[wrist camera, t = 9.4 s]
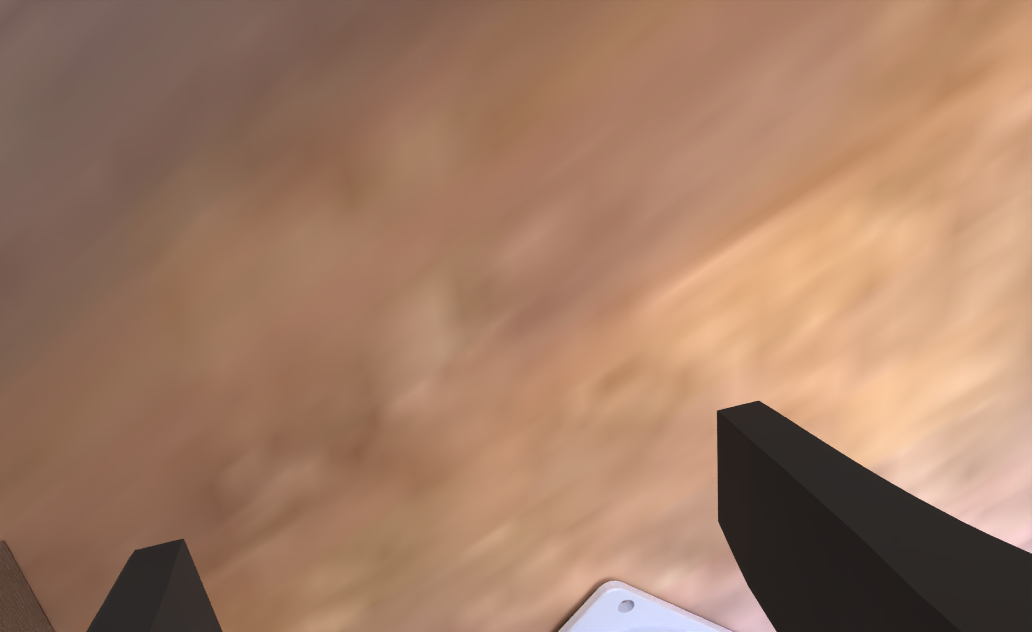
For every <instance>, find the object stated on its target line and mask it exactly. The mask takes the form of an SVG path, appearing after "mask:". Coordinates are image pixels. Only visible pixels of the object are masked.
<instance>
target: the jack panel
mask: <svg viewBox="0 0 1032 632" xmlns="http://www.w3.org/2000/svg"><path fill="white" fill-rule="evenodd" d="M0 632H54V631H53V629H52V627H51V625H50V623H49V622H48V620H47V618H46V616H45V614H44V613H43V611H42V609H41V607H40V605H39V603H38V602H37V600H36V598H35V596H34V594H33V593H32V591H31V589H30V587H29V585H28V584H27V582H26V580H25V578H24V576H23V574H22V573H21V571H20V569H19V567H18V565H17V564H16V562H15V560H14V558H13V556H12V555H11V553H10V551H9V549H8V547H7V545H6V544H5V542H4V541H2V542H0Z"/></svg>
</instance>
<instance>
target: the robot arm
mask: <svg viewBox="0 0 1032 632" xmlns="http://www.w3.org/2000/svg"><path fill="white" fill-rule="evenodd" d="M717 454H718V522H719V524H720V526H721V529H722V531H723V533H724V535H725V537H726V540H727V542H728V544H729V546H730V549H731V551H732V553H733V555H734V557H735V559H736V562H737V564H738V566H739V568H740V570H741V572H742V574H743V576H744V578H745V580H746V582H747V584H748V586H749V588H750V589H751V591H752V593H753V594H754V596H755V598H756V599H757V601H758V603H759V604H760V606H761V607H762V609H763V611H764V612H765V614H766V615H767V617H768V619H769V620H770V622H771V623H772V625H773V627H774V628H775V630H776V631H777V632H1032V554H1031V553H1029V552H1027V551H1025V550H1022V549H1020V548H1018V547H1016V546H1013V545H1011V544H1009V543H1007V542H1004V541H1002V540H1000V539H998V538H995V537H993V536H991V535H989V534H987V533H985V532H983V531H981V530H978V529H976V528H974V527H972V526H970V525H968V524H966V523H964V522H962V521H960V520H958V519H956V518H954V517H953V516H951V515H949V514H947V513H945V512H943V511H941V510H939V509H937V508H936V507H934V506H932V505H930V504H928V503H926V502H924V501H922V500H920V499H919V498H917V497H915V496H913V495H911V494H910V493H908V492H906V491H904V490H903V489H901V488H899V487H897V486H895V485H894V484H892V483H890V482H889V481H887V480H885V479H883V478H882V477H880V476H878V475H877V474H875V473H873V472H872V471H870V470H868V469H867V468H865V467H863V466H862V465H860V464H858V463H857V462H855V461H853V460H852V459H850V458H849V457H847V456H845V455H844V454H842V453H841V452H839V451H837V450H836V449H834V448H833V447H831V446H829V445H828V444H826V443H825V442H823V441H822V440H820V439H818V438H817V437H815V436H814V435H812V434H811V433H809V432H807V431H806V430H804V429H803V428H801V427H800V426H798V425H797V424H795V423H794V422H792V421H790V420H789V419H787V418H786V417H784V416H783V415H781V414H780V413H778V412H776V411H775V410H773V409H772V408H770V407H768V406H767V405H765V404H764V403H762V402H760V401H755V402H751V403H747V404H743V405H738V406H734V407H730V408H726V409H722V410H718V411H717ZM626 600H627V601H626ZM623 601H626V602H623ZM622 602H623V603H622ZM87 632H222V630H221V627H220V625H219V623H218V620H217V618H216V615H215V613H214V610H213V608H212V606H211V603H210V601H209V598H208V596H207V594H206V591H205V589H204V586H203V584H202V582H201V579H200V577H199V574H198V572H197V569H196V567H195V565H194V562H193V560H192V557H191V555H190V553H189V550H188V548H187V545H186V543H185V541H184V539H180V540H176V541H171V542H167V543H163V544H159V545H155V546H151V547H146V548H142V549H138V550H135V551H134V552H133V554H132V555H131V557H130V558H129V560H128V561H127V563H126V565H125V566H124V568H123V570H122V572H121V573H120V575H119V577H118V578H117V580H116V582H115V584H114V585H113V587H112V589H111V591H110V592H109V594H108V596H107V598H106V599H105V601H104V603H103V605H102V606H101V608H100V610H99V611H98V613H97V615H96V617H95V618H94V620H93V622H92V623H91V625H90V627H89V628H88V630H87ZM558 632H732V631H730V630H728V629H726V628H723V627H721V626H719V625H717V624H714V623H712V622H710V621H708V620H706V619H703V618H701V617H699V616H697V615H694V614H692V613H690V612H688V611H685V610H683V609H681V608H679V607H677V606H674V605H672V604H670V603H668V602H665V601H663V600H661V599H659V598H656V597H654V596H652V595H650V594H647V593H645V592H643V591H641V590H639V589H636V588H634V587H632V586H630V585H627V584H625V583H623V582H620V581H609V582H606V583H604V584H603V585H602V586H600V587H599V588H598V589H597V590H596V591H595V592H594V594H593V595H592V596H591V597H590V598H589V599H588V600H587V601H586V602H585V603H584V604H583V605H582V606H581V607H580V609H579V610H578V611H577V612H576V613H575V614H574V615H573V616H572V617H571V618H570V619H569V620H568V621H567V623H566V624H565V625H564V626H563V627H562V628H561V629H560V630H559V631H558Z"/></svg>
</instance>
